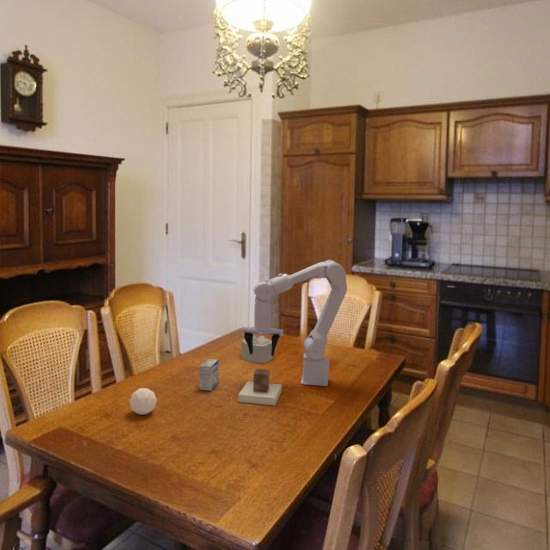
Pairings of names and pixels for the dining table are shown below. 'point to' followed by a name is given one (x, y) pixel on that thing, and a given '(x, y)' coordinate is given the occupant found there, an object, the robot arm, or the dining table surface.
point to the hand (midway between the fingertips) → (262, 354)
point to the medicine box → (209, 374)
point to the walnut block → (261, 380)
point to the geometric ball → (143, 401)
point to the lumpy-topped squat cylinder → (257, 350)
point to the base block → (260, 394)
